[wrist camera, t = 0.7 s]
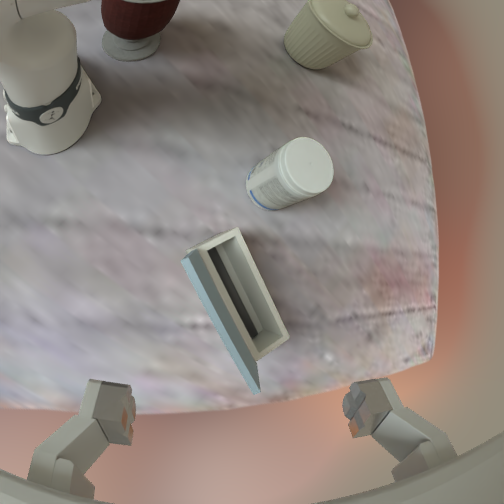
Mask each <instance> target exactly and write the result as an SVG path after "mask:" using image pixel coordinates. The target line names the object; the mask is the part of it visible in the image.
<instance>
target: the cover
mask: <svg viewBox="0 0 504 504" xmlns="http://www.w3.org/2000/svg"><path fill="white" fill-rule="evenodd" d="M181 263H182V265H183V267H184V269H185V271H186V273H187V275H188V277H189V278H190V280H191V282H192V284H193V286H194V288H195V290H196V292H197V294H198V296H199V298H200V300H201V302H202V304H203V306H204V307H205V309H206V311H207V313H208V315H209V317H210V319H211V321H212V322H213V324H214V326H215V328H216V330H217V332H218V333H219V335H220V337H221V339H222V341H223V342H224V344H225V346H226V348H227V350H228V351H229V353H230V355H231V357H232V358H233V360H234V362H235V364H236V365H237V367H238V369H239V371H240V372H241V374H242V376H243V378H244V379H245V381H246V383H247V384H248V386H249V388H250V389H251V391H252V393H253V394H254V395H255V394H257V393H260V392H261V391H260V384H259V376H258V368H257V363H256V361H255V359H254V358H253V356H252V354H251V352H250V350H249V348H248V346H247V345H246V343H245V341H244V339H243V337H242V335H241V333H240V331H239V330H238V328H237V326H236V324H235V322H234V320H233V318H232V316H231V314H230V312H229V310H228V308H227V307H226V305H225V303H224V301H223V299H222V297H221V295H220V293H219V291H218V289H217V287H216V285H215V283H214V281H213V279H212V277H211V275H210V273H209V271H208V269H207V267H206V265H205V263H204V261H203V259H202V257H201V255H200V253H199V251H198V249H197V248H196V249H194V250H192V251H191V252H190V253H188V254H187V255H186V256H185V257H184V258H183V259H182V260H181Z"/></svg>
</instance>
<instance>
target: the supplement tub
mask: <svg viewBox="0 0 504 504" xmlns="http://www.w3.org/2000/svg"><path fill="white" fill-rule="evenodd" d="M333 175H334V169H333V163H332V160H331V158H330V155H329V154H328V152H327V151H326V149H325V148H324V147H323V146H322V145H321V144H320V143H318V142H317V141H315V140H313V139H311V138H307V137H299V138H296V139H294V140H291V141H289V142H288V143H286V144H285V145H283V146H282V147H280V148H279V149H278V150H276V151H275V152H273V153H272V154H271V155H269V156H268V157H266V158H265V159H264V160H262V161H261V162H259V163H258V164H257V165H255V166H254V167H253V168H252V169H251V170H250V171H249V173H248V175H247V178H246V189H247V192H248V195H249V197H250V198H251V200H252V201H253V202H254V204H256V205H257V206H258V207H260V208H262V209H264V210H268V211H275V210H279V209H281V208H284V207H287V206H289V205H292V204H295V203H297V202H300V201H303V200H305V199H308V198H311V197H313V196H316V195H318V194H320V193H321V192H323V191H325V190H326V189H327V188H328V187H329V186H330V184H331V183H332V180H333Z"/></svg>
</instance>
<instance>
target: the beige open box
mask: <svg viewBox="0 0 504 504" xmlns="http://www.w3.org/2000/svg"><path fill="white" fill-rule="evenodd" d="M196 248H197V249H198V251H199V253H200V255H201V257H202V259H203V261H204V263H205V265H206V267H207V269H208V271H209V273H210V275H211V277H212V279H213V281H214V283H215V285H216V287H217V289H218V291H219V293H220V295H221V297H222V299H223V301H224V303H225V305H226V307H227V308H228V310H229V312H230V314H231V316H232V318H233V320H234V322H235V324H236V326H237V328H238V330H239V331H240V333H241V335H242V337H243V339H244V341H245V343H246V345H247V346H248V348H249V350H250V352H251V354H252V356H253V358H254V359H255V361H258V360H259V359H261V358H262V357H264V356H265V355H266V354H268V353H269V352H271V351H272V350H274V349H275V348H277V347H278V346H279V345H281V344H282V343H284V342H285V341H286V340H288V339H289V338H290V336H289V334H288V332H287V330H286V328H285V326H284V324H283V322H282V319H281V317H280V315H279V313H278V311H277V309H276V307H275V305H274V303H273V300H272V298H271V296H270V294H269V292H268V290H267V288H266V286H265V283H264V281H263V279H262V277H261V275H260V273H259V271H258V269H257V267H256V264H255V262H254V260H253V258H252V256H251V254H250V252H249V250H248V247H247V245H246V243H245V241H244V239H243V237H242V235H241V233H240V230H239V228H238V227H237V228H234V229H231V230H228V231H225V232H222V233H219V234H217V235H215V236H213V237H211V238H209V239H207V240H205V241H203V242H201V243H199V244H197V245H196V246H194V247H192V248H190V249H188V250H186V253H187V254H188V253H190V252H191V251H192V250H194V249H196Z"/></svg>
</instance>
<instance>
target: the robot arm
mask: <svg viewBox="0 0 504 504" xmlns="http://www.w3.org/2000/svg"><path fill="white" fill-rule="evenodd" d="M88 1H91V0H0V81H1V83H2V85H3V87H4V90H3V97H4V100H5V101H7V104H6V105H5V106H4V110H5V112H7V116H6V119H7V140H8V143H9V144H11V145H19V146H23V147H25V148H26V149H28V150H29V151H31V152H33V153H36V154H41V155H49V154H54V153H58V152H61V151H63V150H65V149H67V148H68V147H70V146H71V145H73V144H74V143H75V142H76V141H77V140H78V139H79V138H80V137H81V136H82V134H83V133H84V132H85V130H86V128H87V126H88V124H89V121H90V118H91V115H92V113H93V111H94V110H95V109H96V108H97V107H98V105H99V104H100V102H101V95H100V94H99V92H98V91H97V89H96V88H95V86H94V85H93V83H92V82H91V80H90V78H89V77H88V75H87V74H86V72H85V71H84V69H83V68H82V66H81V65H80V60H79V57H78V56H77V39H76V30H75V27H74V25H73V24H72V22H71V21H70V20H69V19H68V18H67V17H66V16H65V15H64V14H62V13H61V12H59V11H56V10H54V9H58V8H62V7H66V6H71V5H75V4H80V3H85V2H88ZM92 94H94V95H93V96H92ZM11 132H13V133H11ZM131 393H132V389H131V386H130V385H128V384H120V383H113V382H106V381H100V380H93V379H90V380H89V381H88V383H87V386H86V389H85V393H84V396H83V400H82V403H81V407H80V411H79V414H78V415H74V416H73V417H72V418H70V419H69V420H68V421H67V422H66V423H65V424H64V425H62V426H61V427H60V428H59V429H58V430H57V431H55V432H54V433H53V434H52V435H51V436H50V437H49V438H47V439H46V440H45V441H44V442H43V443H42V444H40V445H39V446H38V447H37V448H36V449H35V450H34V454H33V457H32V461H31V465H30V470H29V473H28V477H27V480H26V479H23V478H21V477H18V476H16V475H13V474H11V473H9V472H6V471H4V470H2V469H0V504H113V503H108V502H102V501H98V500H94V490H95V487H94V485H93V484H92V483H91V482H90V481H89V480H88V479H87V478H86V477H85V476H84V474H85V473H86V471H87V470H88V469H89V468H90V467H91V466H92V464H93V463H94V462H95V461H96V460H97V459H98V457H99V456H100V455H101V454H102V453H103V452H104V450H105V449H106V448H107V447H108V446H109V443H113V444H121V445H129V446H131V445H132V438H133V428H132V425H131V424H132V423H133V422H134V421H135V415H136V405H135V399H134V397H133V396H132V395H131ZM342 406H343V412H344V415H345V416H346V417H347V418H348V419H350V422H349V424H348V426H349V429H350V431H351V434H352V437H353V438H357V437H362V436H367V435H372V437H373V438H374V439H375V440H376V441H377V442H378V443H379V444H381V445H382V446H383V447H384V448H385V449H386V450H387V451H388V452H389V453H390V454H392V455H393V456H394V457H395V458H396V459H397V460H398V461H399V462H400V463H399V464H398V465H397V466H396V467H394V468H393V470H392V475H393V477H394V480H395V482H394V483H391V484H389V485H385V486H382V487H379V488H376V489H372V490H369V491H366V492H362V493H358V494H355V495H350V496H346V497H342V498H338V499H333V500H329V501H324V502H318V503H313V504H504V431H503V432H501V433H499V434H498V435H496V436H494V437H493V438H491V439H489V440H488V441H486V442H484V443H483V444H480V445H479V446H477V447H475V448H473V449H471V450H469V451H467V452H465V453H463V454H461V455H459V456H457V454H456V452H455V450H454V448H453V446H452V444H451V442H450V440H449V438H448V436H447V434H446V433H445V432H443V431H442V430H440V429H439V428H437V427H436V426H434V425H433V424H431V423H430V422H428V421H427V420H425V419H424V418H422V417H421V416H419V415H418V414H416V413H415V412H414V411H412V410H411V409H409V408H408V407H403V405H402V402H401V400H400V398H399V396H398V395H397V393H396V391H395V389H394V387H393V385H392V383H391V381H390V380H389V379H388V378H379V379H371V380H365V381H359V382H354V383H352V384H351V386H350V392H349V393H347V394H346V395H345V397H344V399H343V405H342Z"/></svg>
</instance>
